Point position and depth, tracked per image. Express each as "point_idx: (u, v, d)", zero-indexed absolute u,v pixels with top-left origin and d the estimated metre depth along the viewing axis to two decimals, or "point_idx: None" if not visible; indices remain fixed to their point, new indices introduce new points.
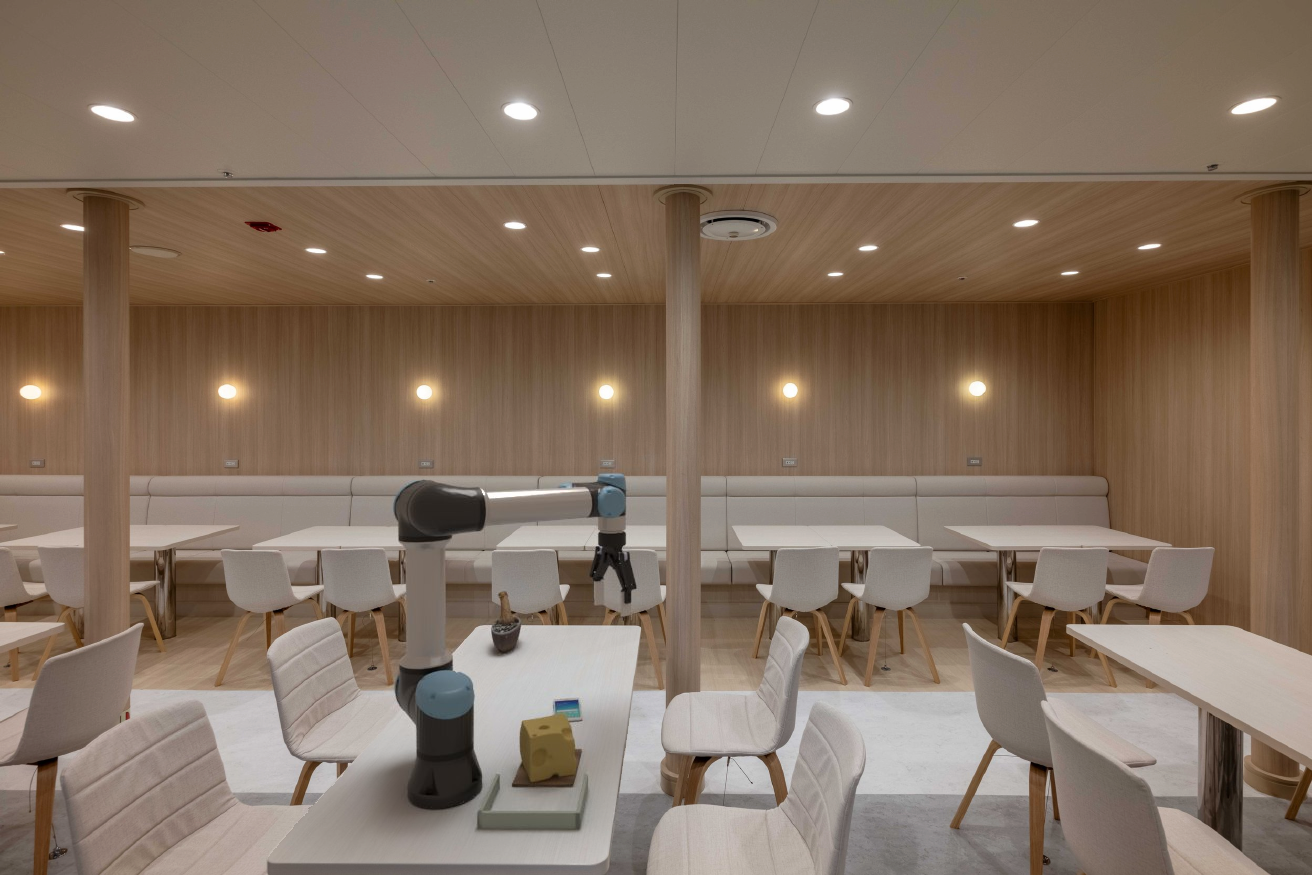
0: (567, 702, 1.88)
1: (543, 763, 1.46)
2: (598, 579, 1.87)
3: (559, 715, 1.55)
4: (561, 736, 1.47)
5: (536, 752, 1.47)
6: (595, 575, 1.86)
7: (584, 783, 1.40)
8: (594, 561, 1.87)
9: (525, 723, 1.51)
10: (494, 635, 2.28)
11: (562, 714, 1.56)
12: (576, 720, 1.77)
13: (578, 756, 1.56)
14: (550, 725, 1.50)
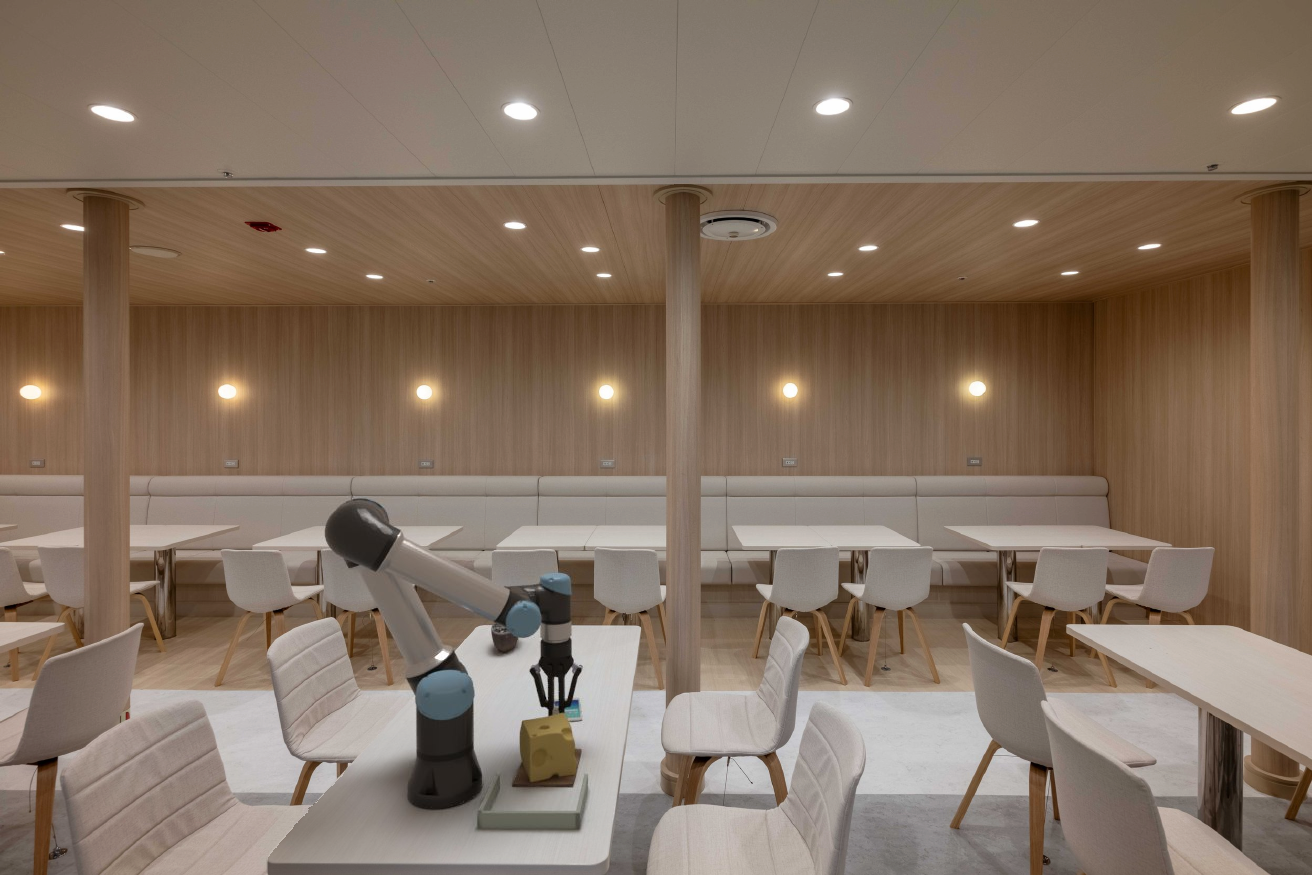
0: None
1: (543, 763, 1.46)
2: (553, 706, 1.64)
3: (559, 715, 1.55)
4: (561, 736, 1.47)
5: (536, 752, 1.47)
6: (550, 701, 1.63)
7: (584, 783, 1.40)
8: (538, 685, 1.63)
9: (525, 723, 1.52)
10: (494, 635, 2.28)
11: (562, 714, 1.56)
12: (576, 720, 1.77)
13: (578, 756, 1.56)
14: (550, 725, 1.50)
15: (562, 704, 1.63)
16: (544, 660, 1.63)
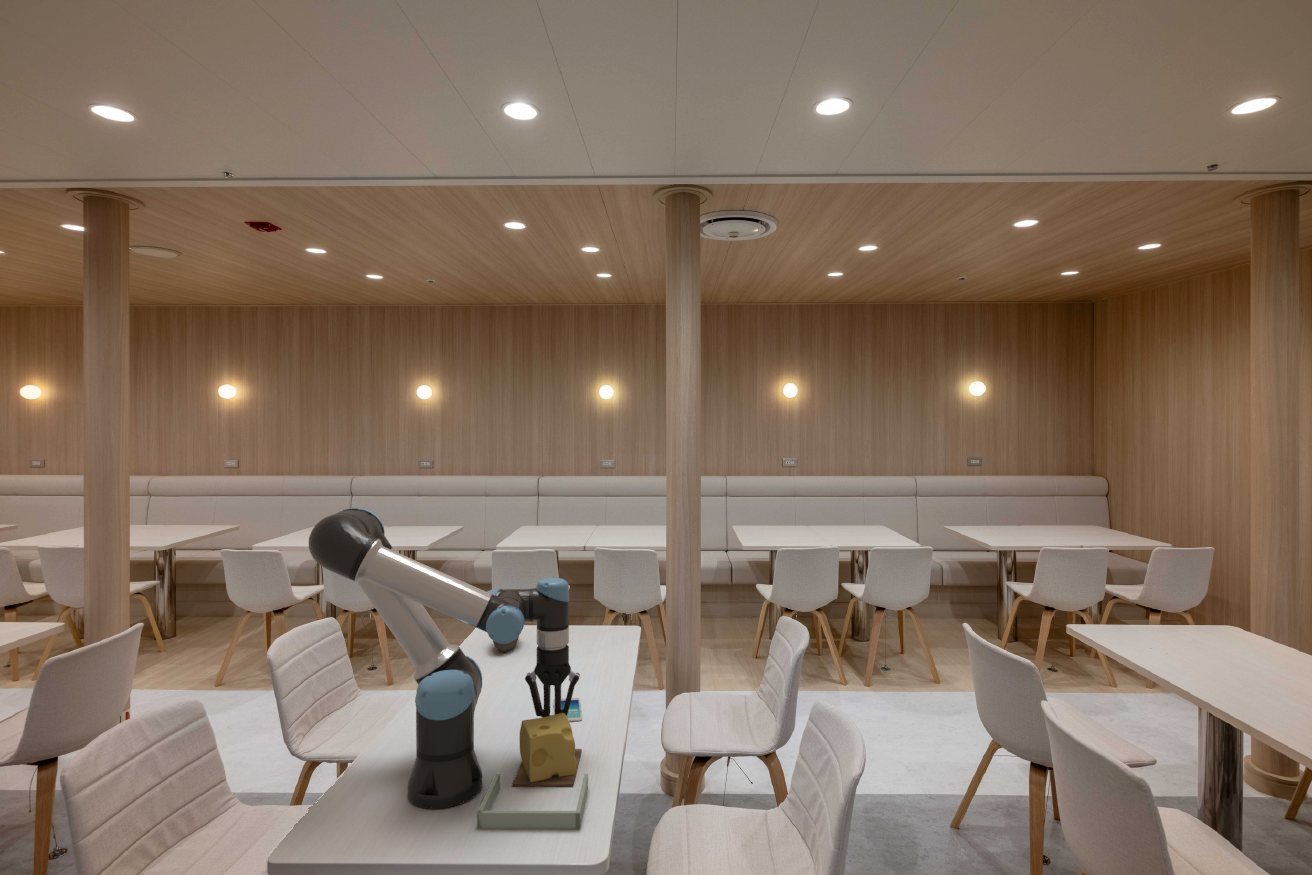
0: None
1: (543, 763, 1.46)
2: (549, 715, 1.59)
3: (559, 715, 1.55)
4: (561, 736, 1.47)
5: (536, 752, 1.47)
6: (546, 710, 1.58)
7: (584, 783, 1.40)
8: (534, 694, 1.58)
9: (525, 723, 1.52)
10: None
11: (562, 714, 1.56)
12: (576, 720, 1.77)
13: (578, 756, 1.56)
14: (550, 725, 1.50)
15: (558, 713, 1.58)
16: (540, 668, 1.58)
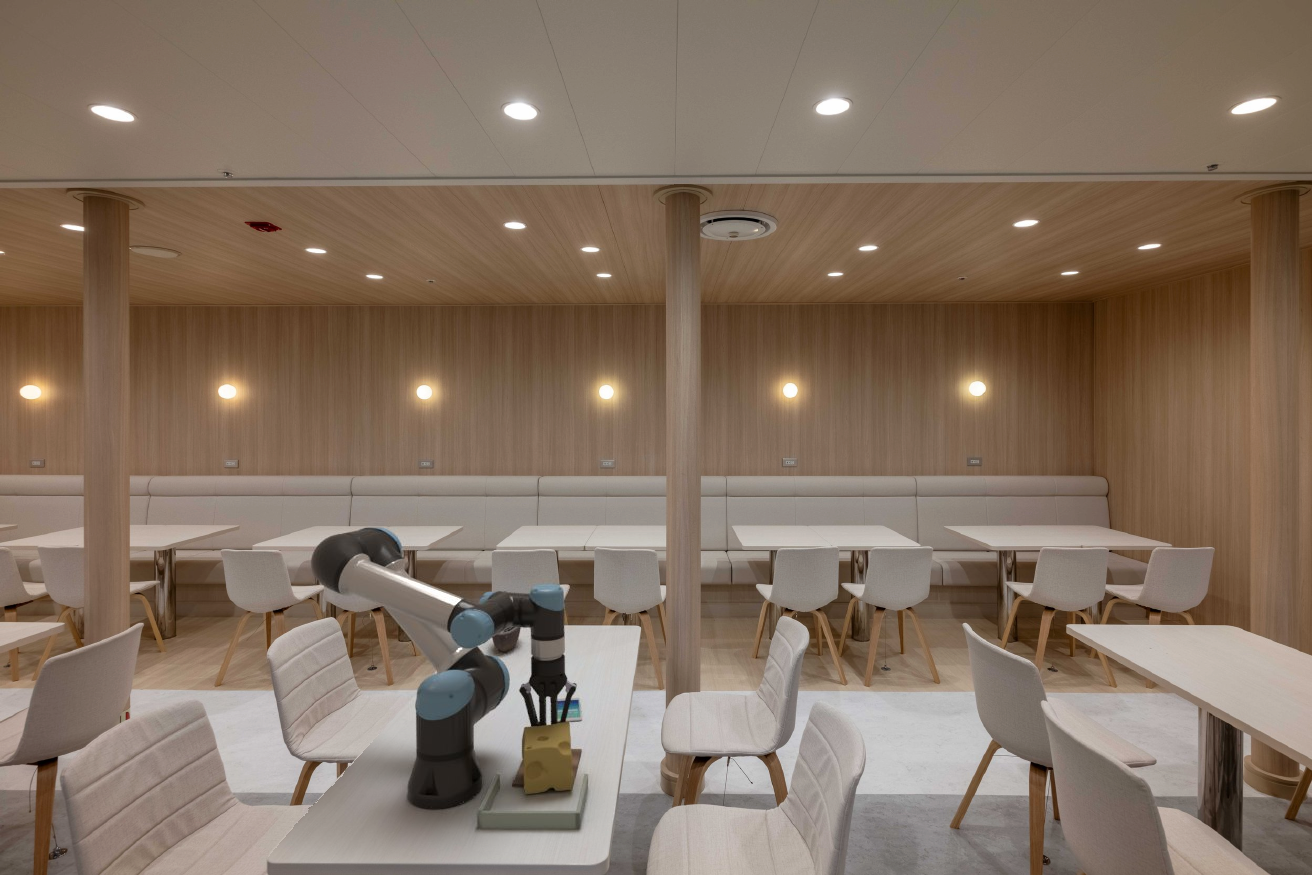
0: None
1: (538, 776, 1.41)
2: None
3: (563, 724, 1.49)
4: (557, 751, 1.41)
5: (532, 764, 1.42)
6: (542, 723, 1.51)
7: (584, 783, 1.40)
8: (529, 706, 1.50)
9: (526, 731, 1.47)
10: None
11: (566, 723, 1.49)
12: (576, 720, 1.77)
13: (578, 756, 1.56)
14: (549, 736, 1.45)
15: None
16: (535, 679, 1.51)
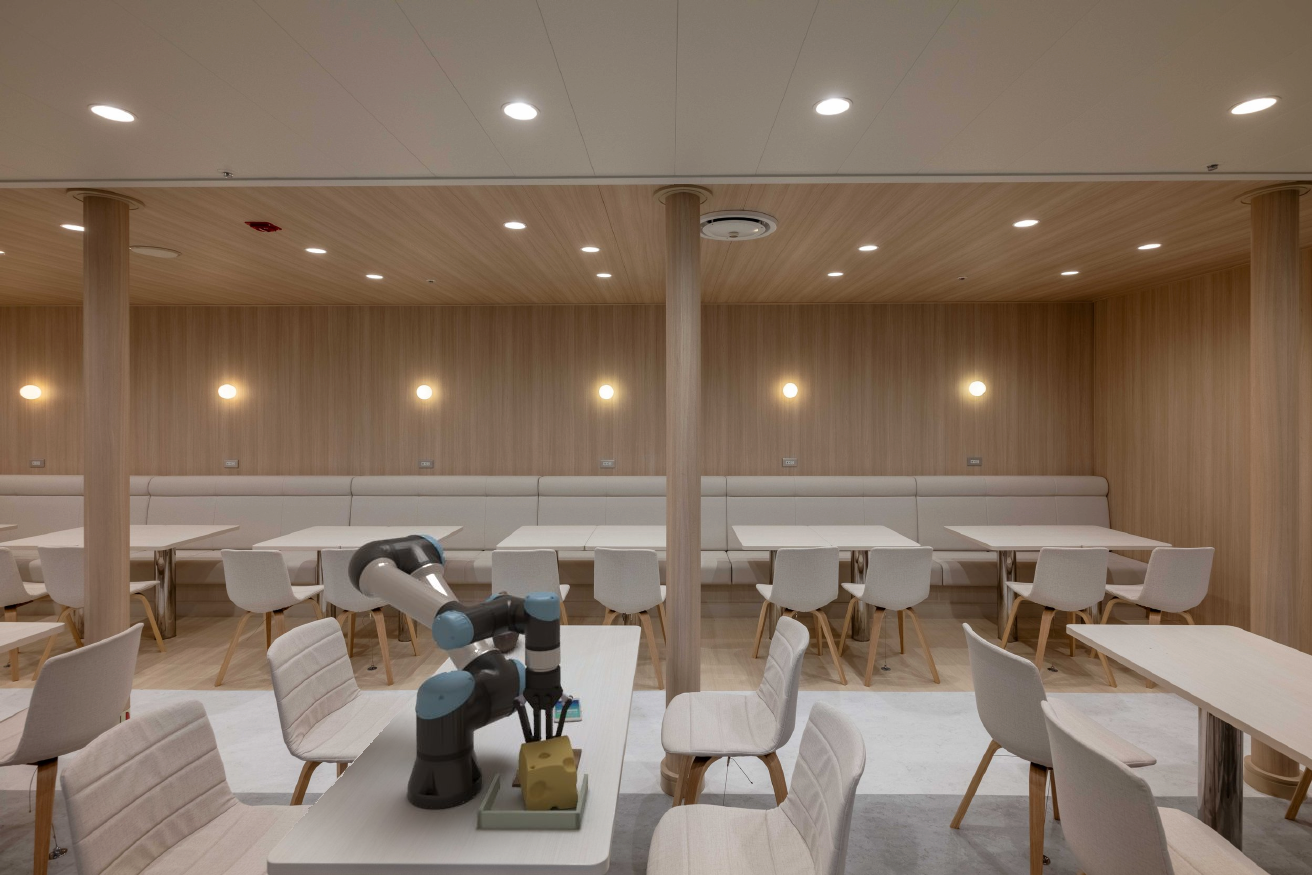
0: None
1: (542, 796, 1.34)
2: None
3: (562, 739, 1.42)
4: (562, 768, 1.34)
5: (534, 783, 1.34)
6: (536, 737, 1.44)
7: (584, 783, 1.40)
8: (523, 719, 1.44)
9: (524, 748, 1.39)
10: None
11: (565, 737, 1.43)
12: (576, 720, 1.77)
13: (578, 756, 1.56)
14: (551, 753, 1.38)
15: None
16: (529, 691, 1.44)
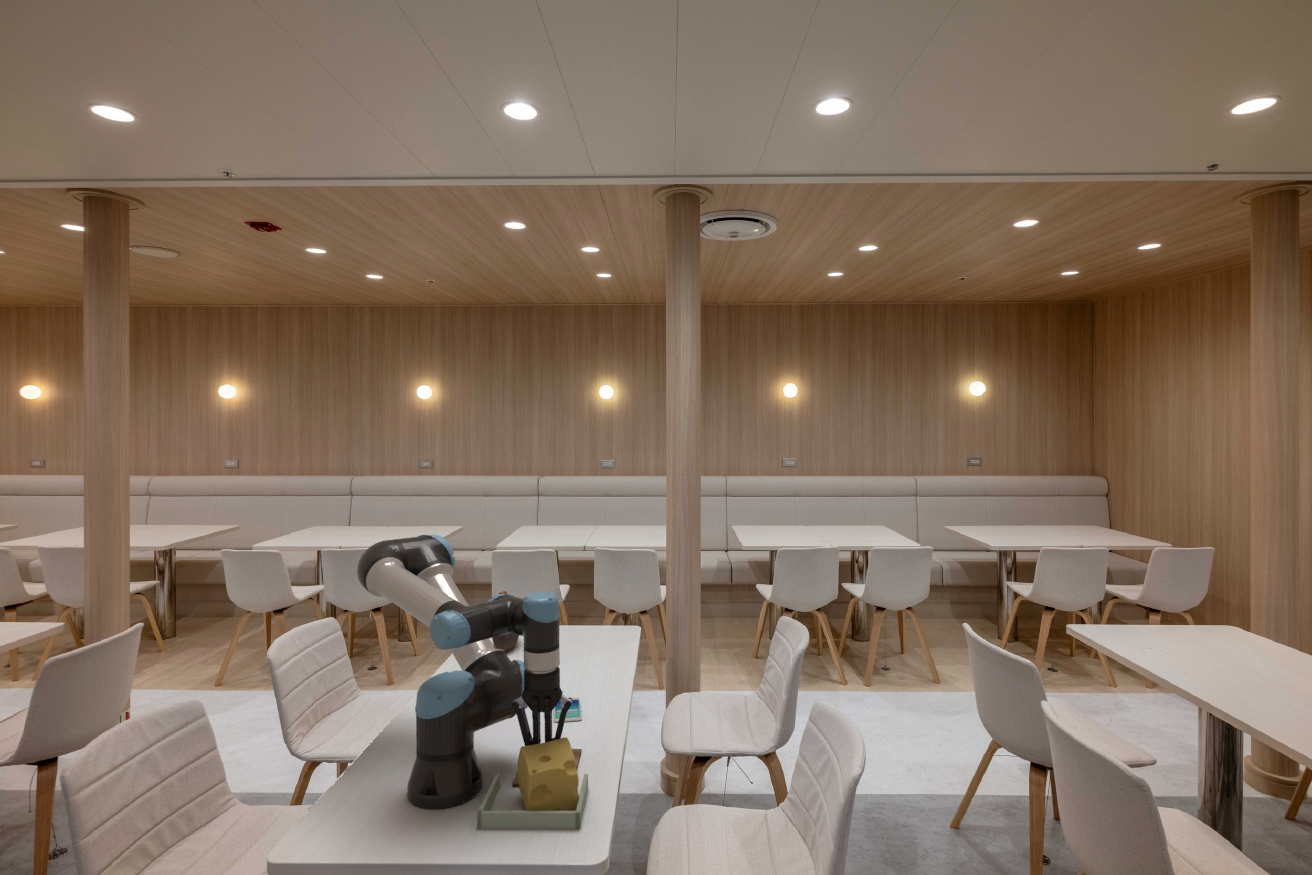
0: None
1: (543, 800, 1.32)
2: None
3: (562, 741, 1.41)
4: (563, 772, 1.33)
5: (535, 787, 1.33)
6: (535, 740, 1.42)
7: (584, 783, 1.40)
8: (522, 722, 1.42)
9: (524, 751, 1.37)
10: None
11: (565, 740, 1.42)
12: (576, 720, 1.77)
13: (578, 756, 1.56)
14: (551, 756, 1.36)
15: None
16: (528, 693, 1.42)
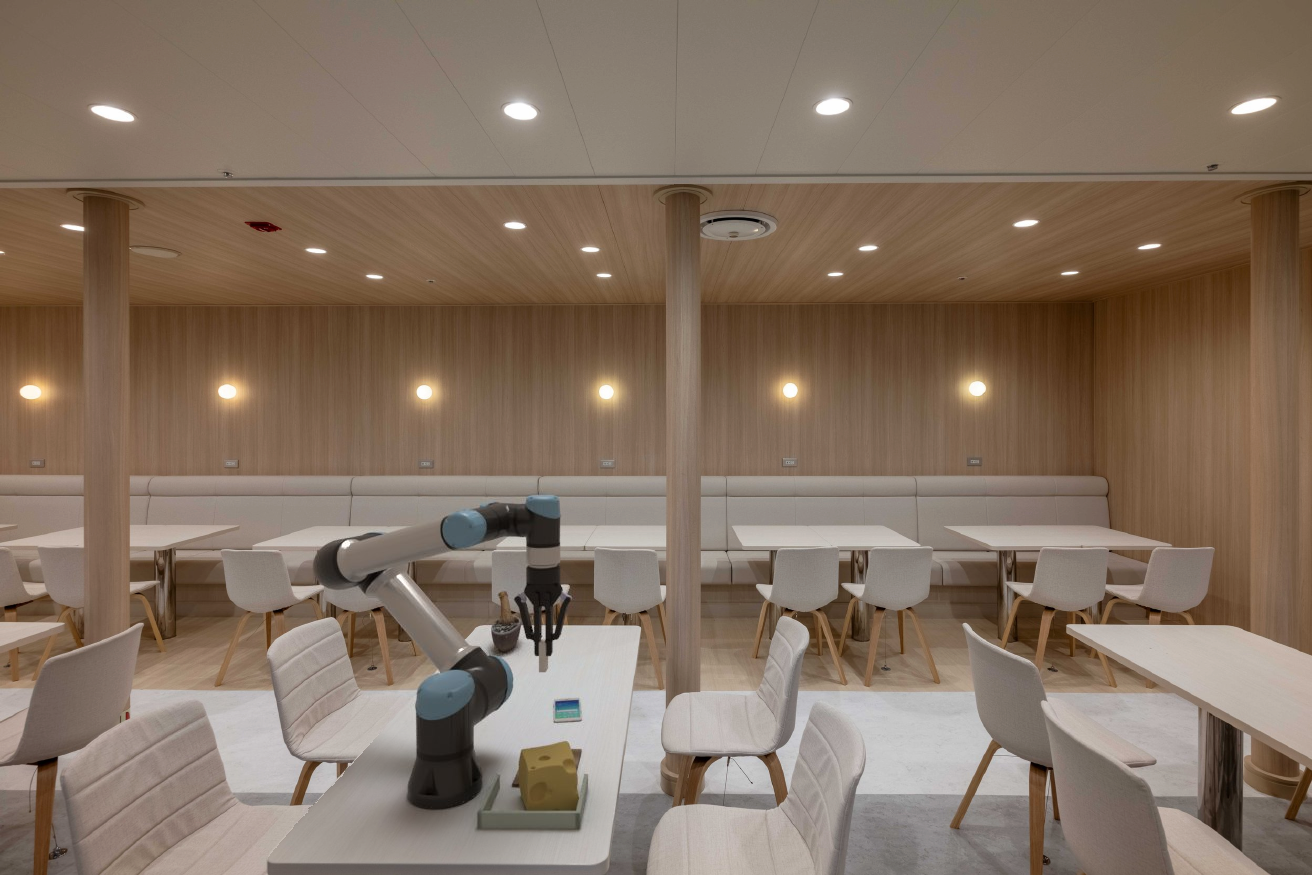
0: (568, 702, 1.88)
1: (543, 799, 1.33)
2: (540, 639, 1.51)
3: (562, 744, 1.42)
4: (562, 769, 1.34)
5: (535, 786, 1.34)
6: (536, 633, 1.49)
7: (584, 783, 1.40)
8: (524, 615, 1.50)
9: (524, 752, 1.39)
10: (494, 635, 2.28)
11: (565, 743, 1.43)
12: (576, 720, 1.77)
13: (578, 756, 1.56)
14: (551, 756, 1.38)
15: (549, 636, 1.49)
16: (530, 588, 1.50)
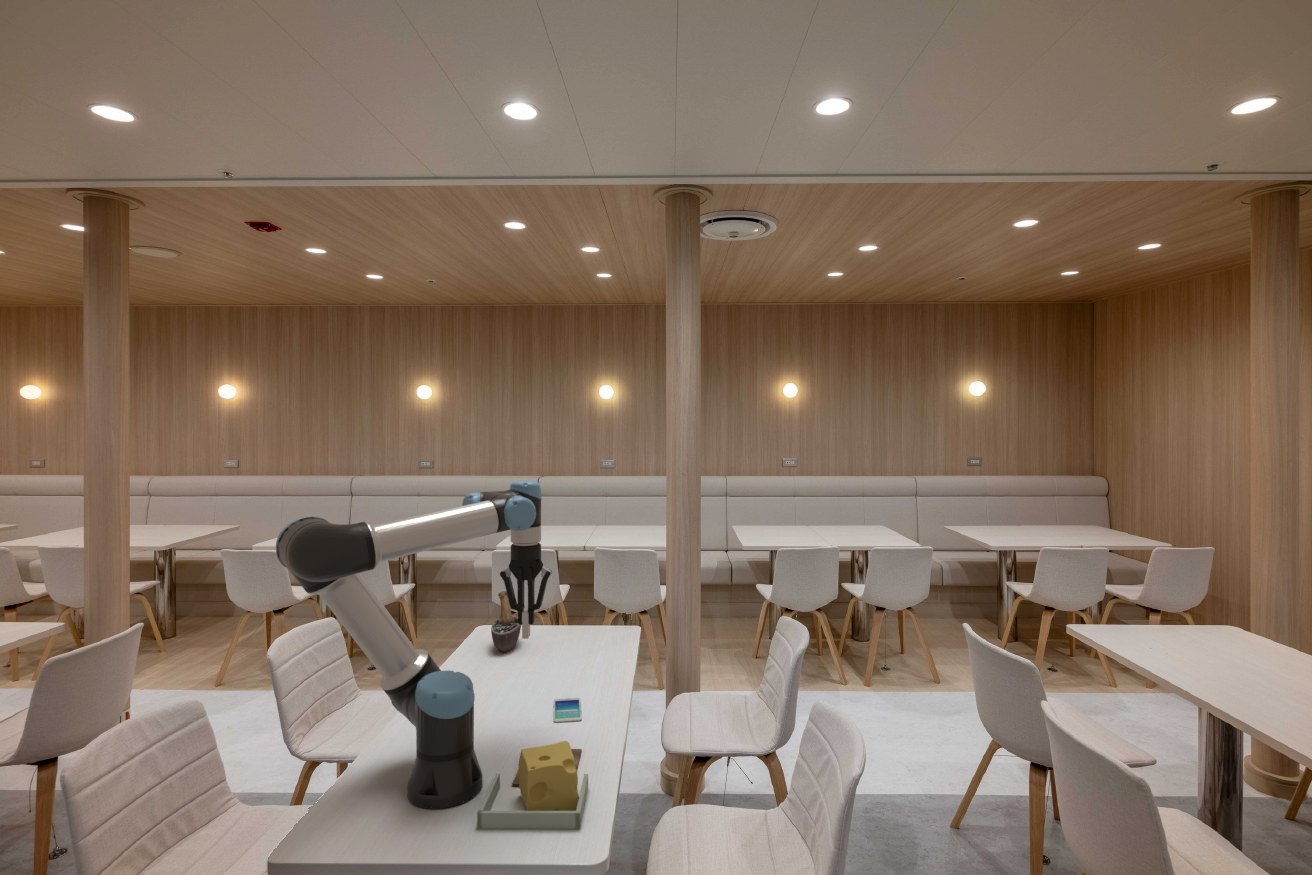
0: (568, 702, 1.88)
1: (543, 799, 1.33)
2: (523, 609, 1.69)
3: (562, 744, 1.42)
4: (562, 769, 1.34)
5: (535, 786, 1.34)
6: (520, 604, 1.68)
7: (584, 783, 1.40)
8: (508, 588, 1.68)
9: (524, 752, 1.39)
10: (494, 635, 2.28)
11: (565, 743, 1.43)
12: (576, 720, 1.77)
13: (578, 756, 1.56)
14: (551, 756, 1.38)
15: (531, 606, 1.68)
16: (514, 564, 1.68)
